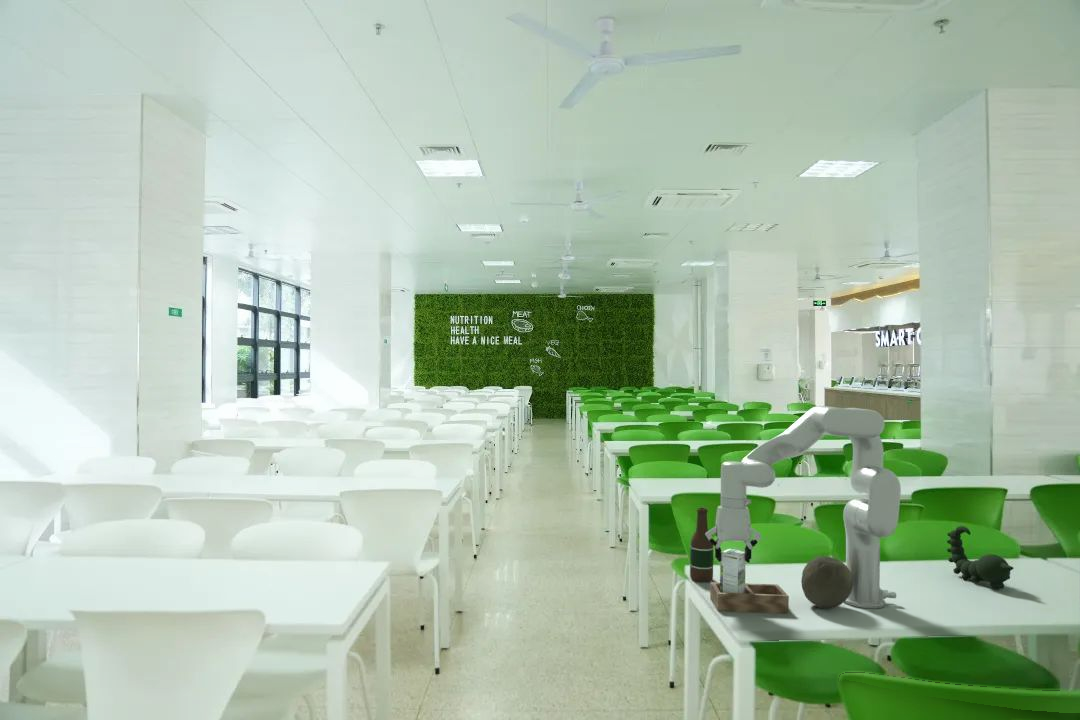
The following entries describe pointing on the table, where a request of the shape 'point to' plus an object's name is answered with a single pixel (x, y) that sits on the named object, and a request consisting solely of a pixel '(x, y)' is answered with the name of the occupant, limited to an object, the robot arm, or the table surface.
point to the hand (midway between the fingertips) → (733, 560)
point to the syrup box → (732, 571)
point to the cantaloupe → (826, 582)
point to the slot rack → (751, 599)
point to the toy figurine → (977, 563)
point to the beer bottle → (701, 550)
